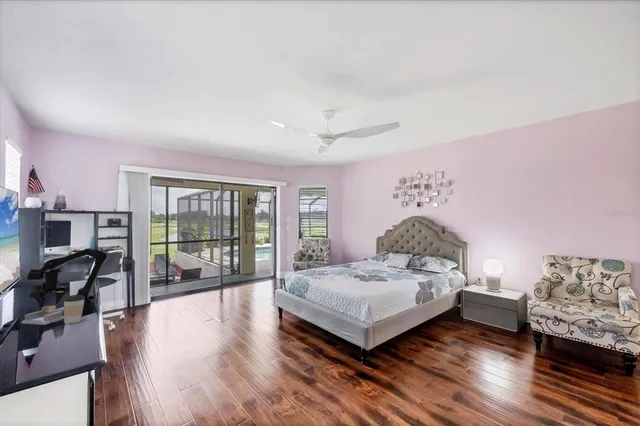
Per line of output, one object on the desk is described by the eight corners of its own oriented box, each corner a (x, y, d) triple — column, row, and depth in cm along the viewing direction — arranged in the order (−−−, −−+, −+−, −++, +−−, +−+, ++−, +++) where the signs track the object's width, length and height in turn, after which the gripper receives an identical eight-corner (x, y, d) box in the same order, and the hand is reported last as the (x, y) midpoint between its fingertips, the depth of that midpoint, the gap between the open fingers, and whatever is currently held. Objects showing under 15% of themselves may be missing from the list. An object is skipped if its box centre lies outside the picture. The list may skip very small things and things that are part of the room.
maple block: (54, 315, 168) (55, 305, 169) (48, 316, 165) (49, 307, 165) (47, 314, 168) (48, 305, 169) (40, 316, 165) (41, 307, 165)
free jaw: (44, 316, 162) (44, 310, 162) (29, 320, 154) (29, 314, 154) (37, 315, 162) (37, 310, 162) (21, 319, 154) (22, 314, 154)
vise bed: (64, 318, 162) (65, 310, 163) (45, 324, 151) (46, 316, 152) (42, 317, 163) (43, 309, 163) (21, 323, 152) (22, 315, 152)
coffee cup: (58, 322, 155) (61, 295, 156) (78, 318, 163) (80, 292, 164) (65, 325, 151) (68, 297, 152) (86, 321, 159) (88, 294, 160)
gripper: (54, 277, 178) (52, 301, 177) (22, 282, 159) (19, 309, 158) (71, 277, 177) (68, 302, 176) (40, 282, 159) (37, 310, 158)
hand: (49, 306), depth 167 cm, fingers open, 9 cm apart
